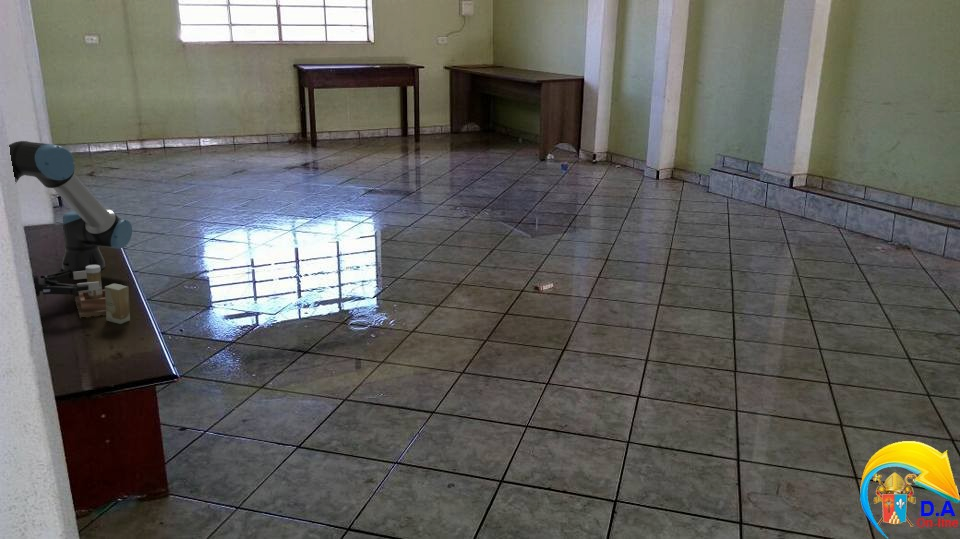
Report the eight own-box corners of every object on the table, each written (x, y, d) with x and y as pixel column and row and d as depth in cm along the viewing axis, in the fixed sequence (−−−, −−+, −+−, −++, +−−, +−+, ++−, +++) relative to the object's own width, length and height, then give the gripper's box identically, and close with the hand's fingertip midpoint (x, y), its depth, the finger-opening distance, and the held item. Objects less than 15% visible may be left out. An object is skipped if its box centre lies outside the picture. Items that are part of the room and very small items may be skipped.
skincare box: (106, 320, 247) (103, 286, 243) (116, 316, 251) (113, 282, 247) (121, 324, 245) (118, 289, 241) (131, 320, 249) (128, 286, 245)
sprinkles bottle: (104, 304, 257) (101, 267, 253) (89, 306, 254) (86, 268, 250) (102, 299, 260) (99, 263, 256) (88, 301, 258) (84, 264, 254)
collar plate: (75, 300, 262) (73, 288, 261) (112, 296, 268) (111, 285, 267) (79, 318, 247) (78, 305, 246) (119, 313, 254) (118, 301, 252)
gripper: (24, 285, 255) (93, 279, 266) (27, 309, 235) (102, 301, 246) (22, 264, 253) (91, 259, 264) (25, 287, 233) (100, 280, 244)
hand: (96, 279), depth 255 cm, fingers open, 13 cm apart
